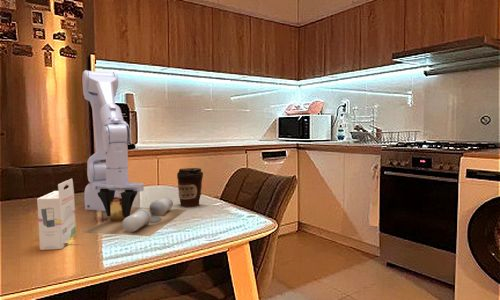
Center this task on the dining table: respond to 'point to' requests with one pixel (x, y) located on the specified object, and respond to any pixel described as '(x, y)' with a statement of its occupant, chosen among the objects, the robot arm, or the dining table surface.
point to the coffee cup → (189, 186)
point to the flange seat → (155, 219)
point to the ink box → (56, 217)
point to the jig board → (148, 230)
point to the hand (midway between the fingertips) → (118, 216)
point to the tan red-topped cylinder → (116, 209)
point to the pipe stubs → (146, 214)
